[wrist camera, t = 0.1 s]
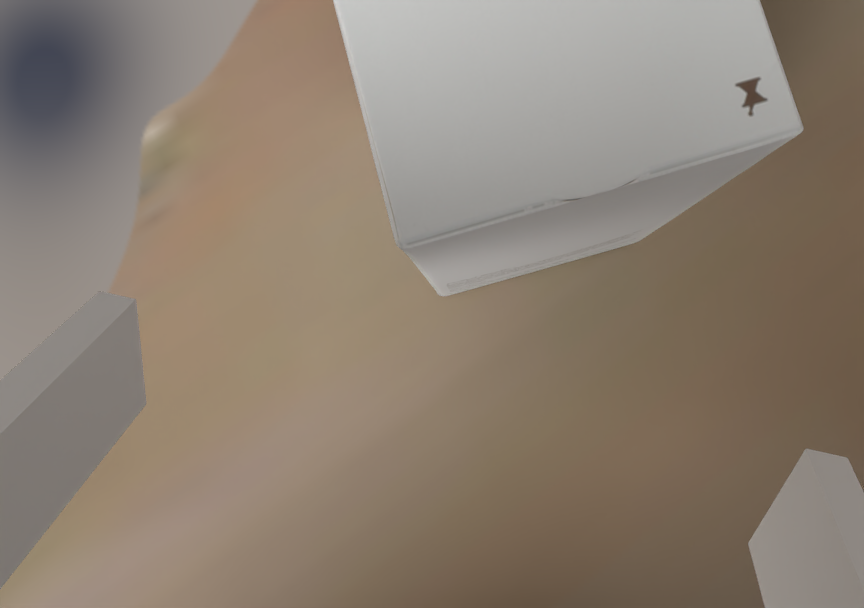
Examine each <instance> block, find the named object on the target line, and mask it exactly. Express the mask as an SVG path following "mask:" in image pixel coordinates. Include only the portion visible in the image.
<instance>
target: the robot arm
mask: <svg viewBox="0 0 864 608" xmlns="http://www.w3.org/2000/svg"><path fill="white" fill-rule="evenodd" d="M145 405H146V395H145V385H144V375H143V364H142V354H141V344H140V334H139V324H138V314H137V304H136V299H133V298H128V297H124V296H119V295H115V294H110V293H106V292H101V291H99V292H98V293H97V294H96V295H94V296H93V297H92V298H91V299H90V300H89V301H88V302H87V303H85V304H84V305H83V306H82V307H81V308H80V309H79V310H78V311H77V312H75V314H73V315H72V316H71V317H70V318H69V319H68V320H67V321H65V322H64V323H63V324H62V325H61V326H60V327H59V328H58V329H57V330H55V332H54V333H52V334H51V335H50V336H49V337H48V338H47V339H45V340H44V341H43V342H42V343H41V344H40V345H39V346H38V347H37V348H35V349H34V350H33V351H32V352H31V353H30V354H29V355H28V356H27V357H25V358H24V359H23V360H22V361H21V362H20V363H19V364H18V365H17V366H15V367H14V368H13V369H12V370H11V371H10V372H9V373H8V374H7V375H5V376H4V377H3V378H2V379H1V380H0V589H1V587H2V586H3V585H4V584H5V582H6V581H7V580H8V579H9V577H10V576H11V575H12V573H13V572H14V571H15V570H16V568H17V567H18V566H19V565H20V563H21V562H22V561H23V560H24V558H25V557H26V556H27V555H28V553H29V552H30V551H31V549H32V548H33V547H34V546H35V544H36V543H37V542H38V541H39V539H40V538H41V537H42V536H43V534H44V533H45V532H46V530H47V529H48V528H49V527H50V525H51V524H52V523H53V522H54V520H55V519H56V518H57V517H58V515H59V514H60V513H61V511H62V510H63V509H64V508H65V506H66V505H67V504H68V503H69V501H70V500H71V499H72V498H73V496H74V495H75V494H76V492H77V491H78V490H79V489H80V487H81V486H82V485H83V484H84V482H85V481H86V480H87V479H88V477H89V476H90V475H91V473H92V472H93V471H94V470H95V468H96V467H97V466H98V465H99V463H100V462H101V461H102V460H103V458H104V457H105V456H106V454H107V453H108V452H109V451H110V449H111V448H112V447H113V446H114V444H115V443H116V442H117V441H118V439H119V438H120V437H121V436H122V434H123V433H124V432H125V430H126V429H127V428H128V427H129V425H130V424H131V423H132V422H133V420H134V419H135V418H136V417H137V415H138V414H139V413H140V411H141V410H142V409H143V408H144V406H145ZM748 545H749V549H750V553H751V557H752V560H753V564H754V568H755V572H756V576H757V579H758V583H759V587H760V591H761V595H762V598H763V602H764V606H765V608H864V492H863V490H862V488H861V485H860V483H859V481H858V479H857V477H856V475H855V473H854V471H853V468H852V466H851V464H850V462H849V460H848V458H847V457H842V456H838V455H834V454H829V453H825V452H820V451H816V450H811V449H807V448H806V449H805V451H804V452H803V454H802V455H801V457H800V459H799V460H798V462H797V464H796V465H795V467H794V469H793V470H792V472H791V474H790V475H789V477H788V479H787V480H786V482H785V483H784V485H783V487H782V488H781V490H780V492H779V493H778V495H777V497H776V498H775V500H774V502H773V503H772V505H771V507H770V508H769V510H768V511H767V513H766V515H765V516H764V518H763V520H762V521H761V523H760V525H759V526H758V528H757V530H756V531H755V533H754V534H753V536H752V538H751V539H750V541H749V543H748Z"/></svg>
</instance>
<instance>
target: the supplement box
mask: <svg viewBox="0 0 864 608" xmlns="http://www.w3.org/2000/svg"><path fill="white" fill-rule="evenodd" d="M333 2H334V6H335V9H336V13H337V17H338V21H339V25H340V29H341V33H342V37H343V41H344V45H345V48H346V52H347V56H348V60H349V64H350V68H351V72H352V76H353V79H354V83H355V87H356V91H357V95H358V99H359V102H360V106H361V110H362V114H363V118H364V122H365V126H366V130H367V134H368V138H369V142H370V146H371V150H372V154H373V158H374V162H375V166H376V169H377V173H378V177H379V181H380V185H381V189H382V193H383V197H384V200H385V204H386V208H387V212H388V216H389V220H390V224H391V227H392V231H393V235H394V239H395V241H396V244H397V246H398V247H399V248H400V249H402V250H403V251H404V252H405V253H406V254H407V255H408V256H409V258H410V259H411V260H412V261H413V262H414V264H415V265H416V266H417V267H418V269H419V270H420V271H421V272H422V274H423V275H424V276H425V277H426V279H427V280H428V281H429V283H430V284H431V285H432V286H433V288H434V289H435V290H436V292H437V294H438V295H440V296H449V295H453V294H456V293H460V292H464V291H467V290H471V289H474V288H478V287H481V286H485V285H489V284H492V283H496V282H499V281H503V280H506V279H510V278H514V277H517V276H521V275H524V274H528V273H531V272H535V271H538V270H542V269H545V268H549V267H553V266H556V265H560V264H563V263H567V262H570V261H574V260H577V259H581V258H584V257H588V256H591V255H595V254H598V253H602V252H605V251H609V250H612V249H616V248H619V247H623V246H626V245H630V244H633V243H636V242H639V241H640V240H642V239H643V238H645V237H646V236H648V235H649V234H651V233H653V232H654V231H656V230H657V229H659V228H660V227H662V226H663V225H665V224H666V223H668V222H669V221H671V220H672V219H674V218H675V217H677V216H678V215H680V214H681V213H683V212H684V211H686V210H687V209H689V208H690V207H691V206H693V205H695V204H696V203H698V202H699V201H700V200H702V199H703V198H705V197H706V196H708V195H709V194H711V193H713V192H714V191H715V190H717V189H718V188H720V187H721V186H723V185H724V184H726V183H727V182H729V181H730V180H732V179H733V178H735V177H736V176H738V175H739V174H741V173H742V172H744V171H745V170H747V169H748V168H750V167H751V166H753V165H754V164H756V163H757V162H759V161H760V160H762V159H763V158H765V157H766V156H767V155H769V154H770V153H772V152H773V151H775V150H776V149H778V148H779V147H781V146H782V145H784V144H785V143H787V142H788V141H790V140H791V139H793V138H794V137H796V136H797V135H799V134H800V133H802V131H803V129H804V128H803V125H802V122H801V119H800V116H799V113H798V110H797V107H796V104H795V102H794V99H793V96H792V93H791V90H790V87H789V84H788V81H787V78H786V75H785V72H784V69H783V67H782V64H781V61H780V58H779V55H778V52H777V49H776V46H775V43H774V40H773V37H772V34H771V31H770V29H769V26H768V23H767V20H766V17H765V14H764V11H763V8H762V5H761V2H760V0H333Z"/></svg>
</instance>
